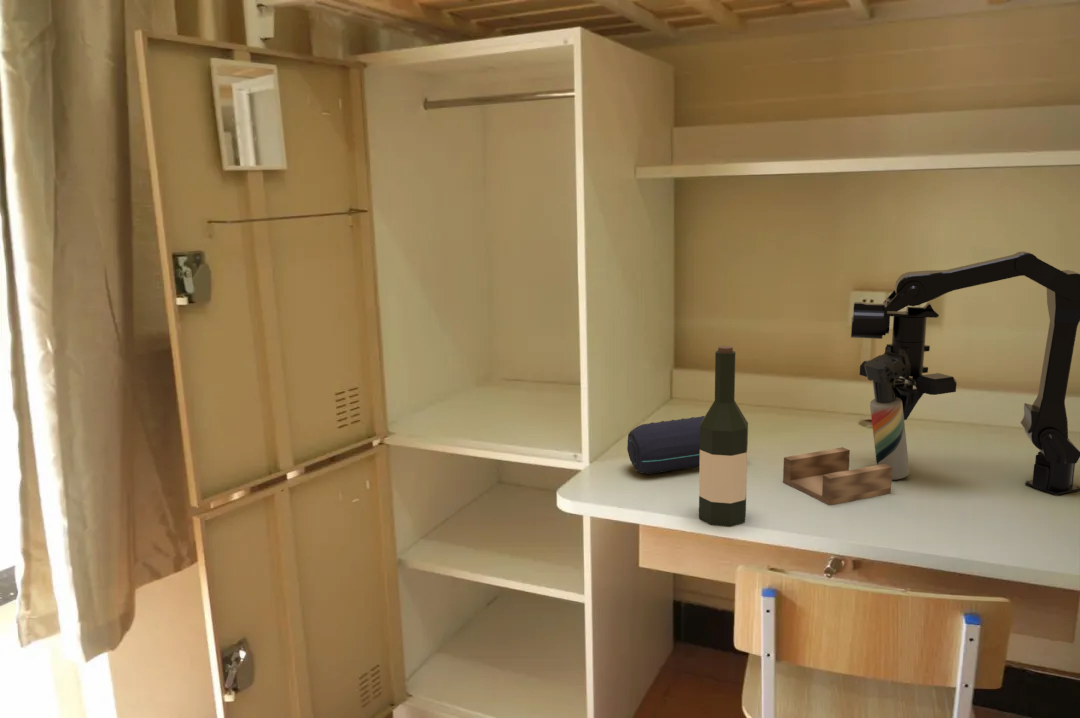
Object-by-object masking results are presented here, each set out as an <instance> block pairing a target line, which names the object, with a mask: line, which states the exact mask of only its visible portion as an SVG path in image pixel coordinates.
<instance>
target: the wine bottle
mask: <svg viewBox="0 0 1080 718" xmlns="http://www.w3.org/2000/svg"><path fill="white" fill-rule="evenodd" d="M717 347H718V349H717V350H716V351H715V352H714V354H715V357H714V358H715V359H714V361H715V363H714V365H715V367H714V369H715V370H714V401H713V402H712V404H711V406H710V407H709V409H708V410H707V412H706V414H705V415H704V416H705V417H704V418H703V420H702V422H701V425H700V466H699V473H698V475H699V476H698V477H699V482H698V483H699V485H698V486H699V488H698V491H699V492H698V519H699V520H700V521H703V522H704V523H706V524H708V525H709V526H719V527H729V528H730V527H736V526H739V525H742V524H745V523H746V519H747V518H746V516H747V484H748V483H747V482H748V480H747V479H748V443H749V442H748V441H749V440H748V438H749V423H748V420H747V418H746V416H745V415H744V414H743V412H742V410H741V408H740V407H739V405H738V404H737V402H736V400H735V392H736V391H735V390H736V389H735V387H736V385H735V384H736V351H735V350H734V347H733V346H731V345H719V346H717Z"/></svg>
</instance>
